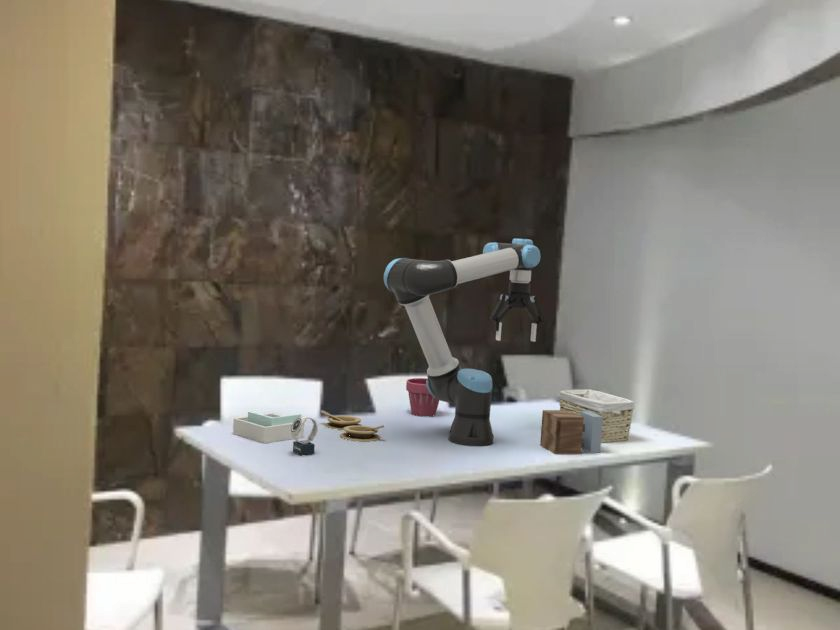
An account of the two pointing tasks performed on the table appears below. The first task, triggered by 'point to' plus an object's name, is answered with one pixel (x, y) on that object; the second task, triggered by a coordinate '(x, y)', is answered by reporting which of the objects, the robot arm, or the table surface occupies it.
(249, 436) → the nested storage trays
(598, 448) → the grey rectangular block
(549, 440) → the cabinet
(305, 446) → the watch
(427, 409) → the plant pot
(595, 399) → the storage basket
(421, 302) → the robot arm
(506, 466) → the table surface
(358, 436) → the tableware set
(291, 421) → the mint green square box
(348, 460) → the table surface
